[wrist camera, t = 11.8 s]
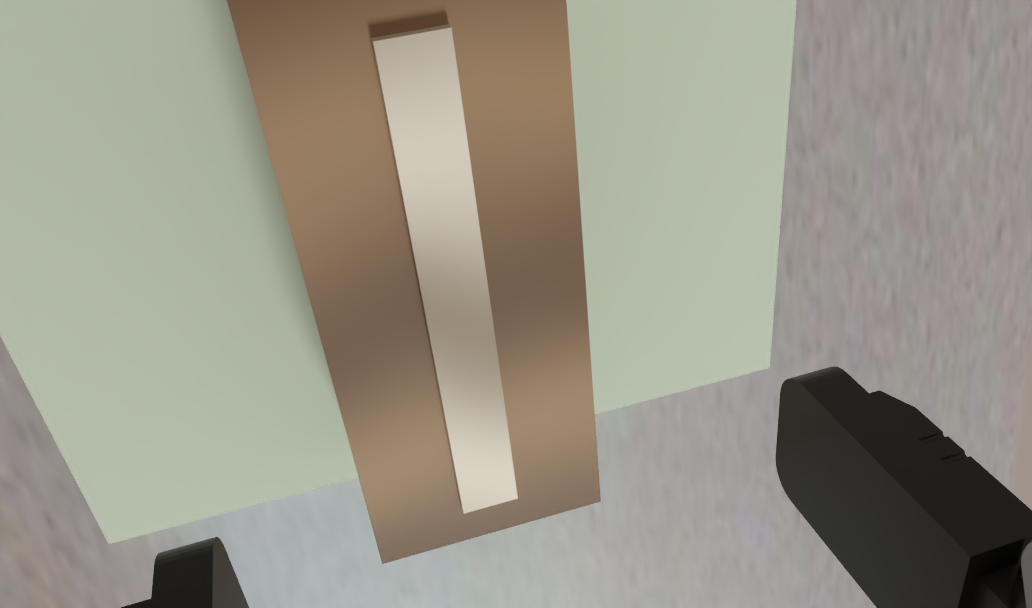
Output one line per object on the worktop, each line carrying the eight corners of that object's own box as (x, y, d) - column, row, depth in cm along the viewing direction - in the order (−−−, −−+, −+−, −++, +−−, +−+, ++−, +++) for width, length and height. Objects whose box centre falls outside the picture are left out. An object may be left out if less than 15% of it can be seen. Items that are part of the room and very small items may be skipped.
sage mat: (111, 526, 22) (108, 543, 21) (-190, -63, 14) (-205, -57, 14) (759, 355, 25) (769, 367, 25) (794, -202, 17) (811, -202, 17)
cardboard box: (226, -55, 15) (223, -7, 12) (495, -98, 16) (566, -64, 13) (360, 445, 22) (383, 570, 19) (547, 396, 23) (604, 507, 19)
